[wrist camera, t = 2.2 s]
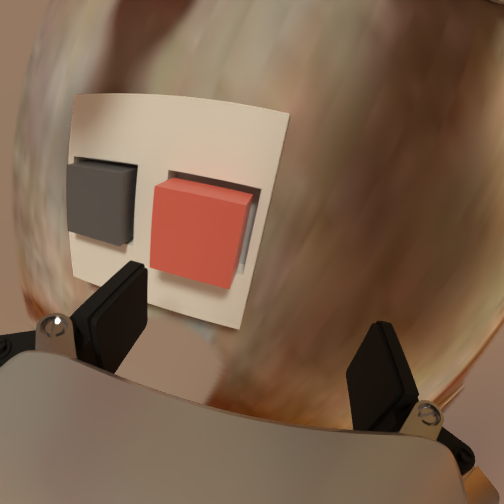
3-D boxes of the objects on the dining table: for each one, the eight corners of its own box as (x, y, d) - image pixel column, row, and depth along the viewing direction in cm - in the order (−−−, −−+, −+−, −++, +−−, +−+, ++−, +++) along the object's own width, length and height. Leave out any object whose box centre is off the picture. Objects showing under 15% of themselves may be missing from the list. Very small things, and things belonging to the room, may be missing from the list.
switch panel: (290, 116, 17) (289, 113, 14) (245, 306, 23) (239, 329, 21) (98, 95, 18) (74, 94, 15) (92, 261, 24) (73, 276, 21)
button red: (253, 194, 16) (246, 205, 14) (237, 269, 18) (229, 289, 16) (172, 177, 17) (154, 186, 14) (165, 250, 19) (149, 267, 16)
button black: (141, 166, 18) (122, 173, 16) (137, 233, 20) (120, 246, 18) (88, 159, 18) (66, 164, 16) (86, 219, 20) (67, 230, 18)
